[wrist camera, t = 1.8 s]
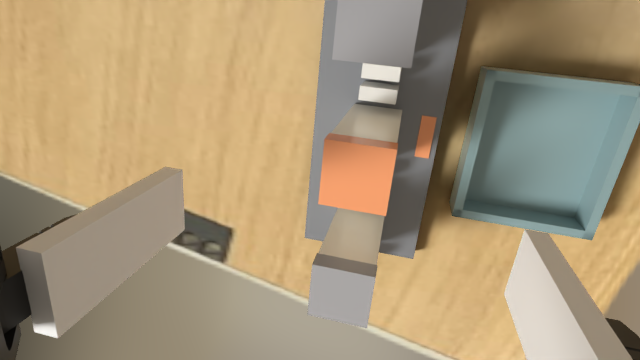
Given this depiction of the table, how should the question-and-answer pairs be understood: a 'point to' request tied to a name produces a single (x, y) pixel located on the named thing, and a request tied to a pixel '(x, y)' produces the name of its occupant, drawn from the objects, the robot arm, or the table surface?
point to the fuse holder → (397, 93)
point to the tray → (544, 150)
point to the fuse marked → (360, 160)
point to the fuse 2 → (346, 268)
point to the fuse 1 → (377, 31)
